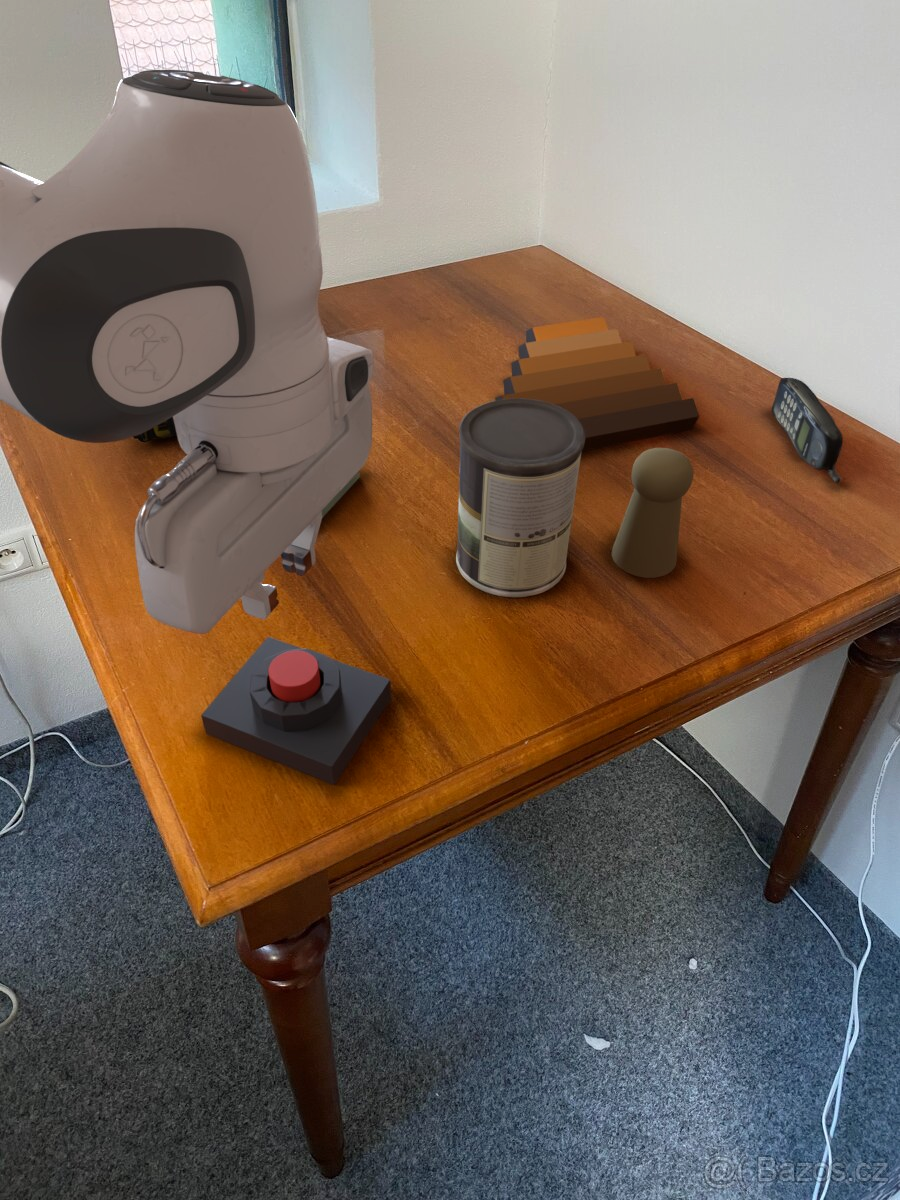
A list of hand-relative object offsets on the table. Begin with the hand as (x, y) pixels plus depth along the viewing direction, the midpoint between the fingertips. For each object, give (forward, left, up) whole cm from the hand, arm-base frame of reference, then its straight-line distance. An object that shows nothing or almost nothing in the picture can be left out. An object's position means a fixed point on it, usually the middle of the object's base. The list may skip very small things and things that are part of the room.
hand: (281, 588), depth 58 cm
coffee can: (+8, +24, -13) cm, 29 cm away
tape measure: (-35, +28, -13) cm, 47 cm away
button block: (0, 0, -13) cm, 13 cm away
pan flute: (+1, +54, -13) cm, 56 cm away
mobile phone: (+30, +56, -13) cm, 65 cm away
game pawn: (+19, +30, -13) cm, 38 cm away
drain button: (0, 0, -9) cm, 9 cm away
